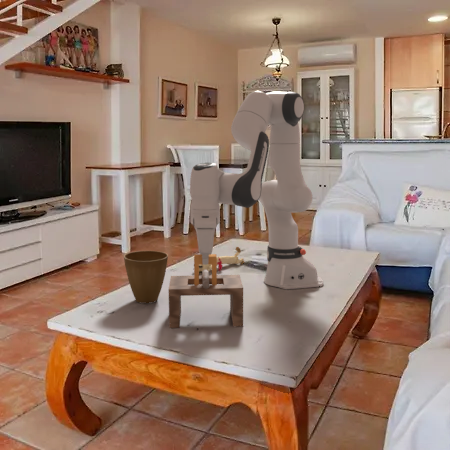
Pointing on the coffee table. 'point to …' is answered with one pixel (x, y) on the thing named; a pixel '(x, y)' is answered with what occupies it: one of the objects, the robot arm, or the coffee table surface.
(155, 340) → the coffee table surface
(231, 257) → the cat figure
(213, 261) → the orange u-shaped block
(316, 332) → the coffee table surface
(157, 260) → the plant pot
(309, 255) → the coffee table surface
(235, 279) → the wooden table with hole
